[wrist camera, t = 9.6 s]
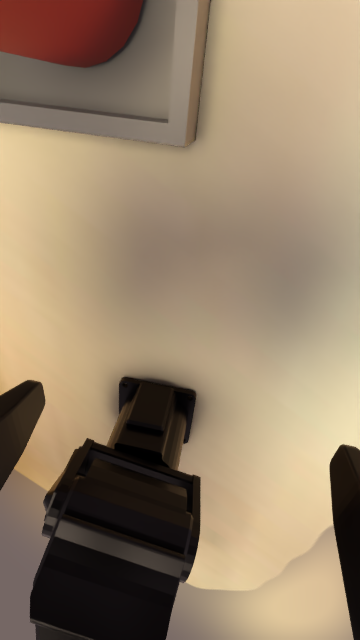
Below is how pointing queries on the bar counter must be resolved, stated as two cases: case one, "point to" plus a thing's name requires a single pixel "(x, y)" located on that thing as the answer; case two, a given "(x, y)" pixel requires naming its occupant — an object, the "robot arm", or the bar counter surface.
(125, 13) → the beer can
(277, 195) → the bar counter surface
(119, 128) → the tray
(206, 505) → the bar counter surface
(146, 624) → the robot arm
